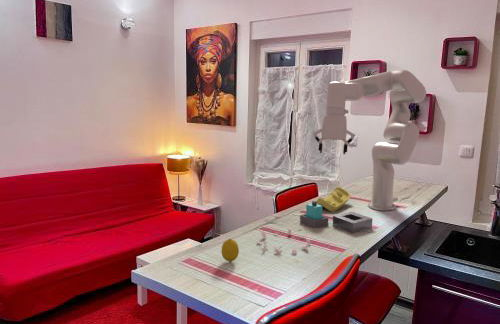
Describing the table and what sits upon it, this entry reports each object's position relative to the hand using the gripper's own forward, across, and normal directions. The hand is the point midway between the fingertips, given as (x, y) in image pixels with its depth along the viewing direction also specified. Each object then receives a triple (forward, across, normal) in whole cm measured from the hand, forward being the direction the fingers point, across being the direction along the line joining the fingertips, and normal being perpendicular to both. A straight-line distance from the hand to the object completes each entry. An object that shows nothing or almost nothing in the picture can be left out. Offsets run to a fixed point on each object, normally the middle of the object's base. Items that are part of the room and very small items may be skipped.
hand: (332, 153), depth 156 cm
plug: (+30, +6, +6) cm, 31 cm away
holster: (+30, +6, +6) cm, 31 cm away
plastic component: (+29, -3, -22) cm, 36 cm away
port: (+29, -10, +7) cm, 31 cm away
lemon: (+32, +31, +48) cm, 66 cm away
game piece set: (+31, +16, +30) cm, 46 cm away
